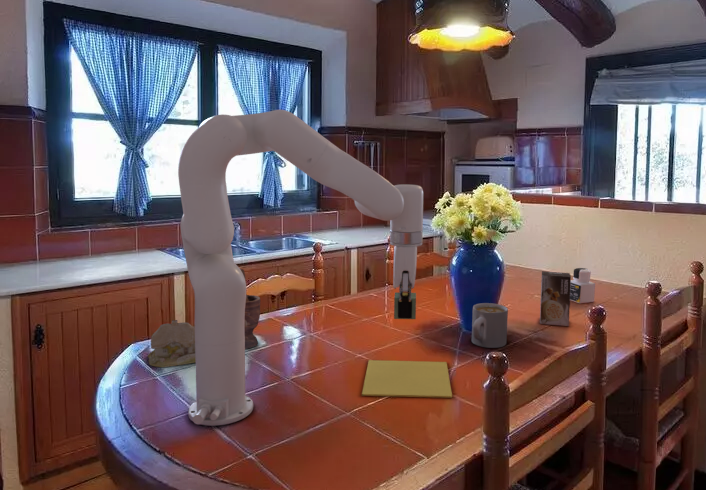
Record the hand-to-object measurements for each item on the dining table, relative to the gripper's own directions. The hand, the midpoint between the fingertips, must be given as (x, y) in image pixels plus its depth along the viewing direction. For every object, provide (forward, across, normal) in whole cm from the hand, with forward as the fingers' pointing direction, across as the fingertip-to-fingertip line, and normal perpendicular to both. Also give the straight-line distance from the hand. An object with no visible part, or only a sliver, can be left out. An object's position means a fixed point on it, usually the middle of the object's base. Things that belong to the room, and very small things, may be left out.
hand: (405, 313), depth 131 cm
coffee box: (+17, -47, +48) cm, 69 cm away
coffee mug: (+16, -26, +23) cm, 38 cm away
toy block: (+1, 0, 0) cm, 1 cm away
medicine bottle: (+17, -75, +65) cm, 101 cm away
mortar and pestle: (+16, -21, -45) cm, 52 cm away
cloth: (+16, 0, +1) cm, 16 cm away
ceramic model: (+16, -9, -58) cm, 61 cm away
